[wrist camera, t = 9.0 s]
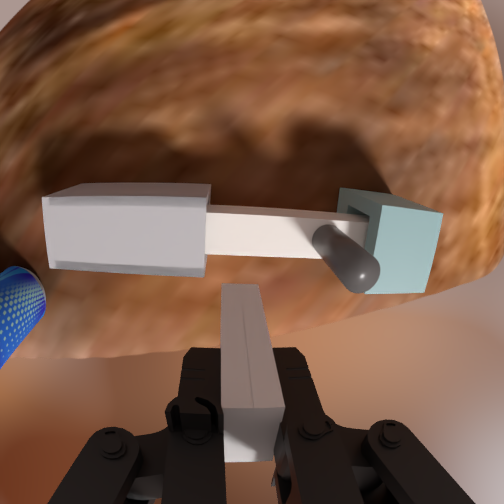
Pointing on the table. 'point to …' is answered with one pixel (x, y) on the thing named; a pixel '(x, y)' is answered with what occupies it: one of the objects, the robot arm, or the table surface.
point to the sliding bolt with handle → (295, 239)
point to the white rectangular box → (128, 228)
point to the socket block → (396, 238)
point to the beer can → (18, 307)
